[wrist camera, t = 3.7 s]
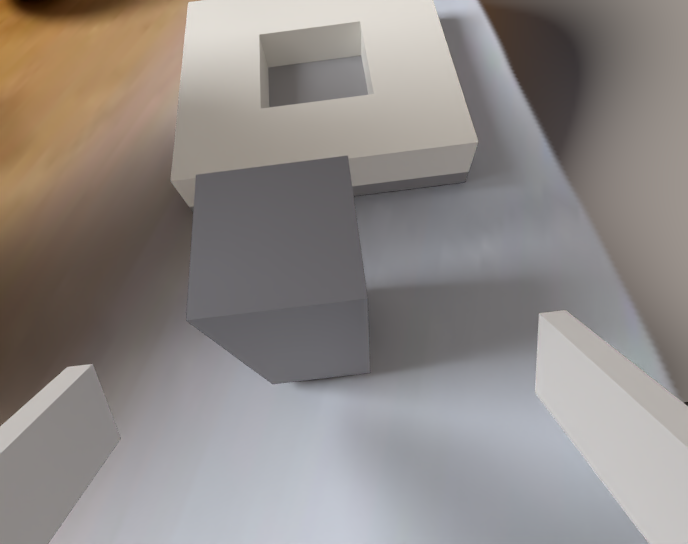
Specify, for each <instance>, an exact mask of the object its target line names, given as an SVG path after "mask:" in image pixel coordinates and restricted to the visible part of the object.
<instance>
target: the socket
mask: <svg viewBox="0 0 688 544" xmlns="http://www.w3.org/2000/svg"><path fill="white" fill-rule="evenodd" d="M477 145H478V139H477V136H476V133H475V129H474V126H473V123H472V120H471V117H470V114H469V111H468V108H467V105H466V101H465V98H464V95H463V92H462V89H461V86H460V83H459V80H458V76H457V73H456V70H455V67H454V64H453V61H452V58H451V55H450V52H449V48H448V45H447V42H446V39H445V36H444V33H443V30H442V27H441V24H440V20H439V17H438V14H437V11H436V8H435V5H434V2H433V0H202V1H195V2H188V10H187V20H186V30H185V40H184V50H183V60H182V70H181V80H180V90H179V100H178V110H177V120H176V130H175V140H174V150H173V160H172V170H171V180H170V181H171V183H172V184H173V185H174V187H175V188H176V190H177V191H178V192H179V194H180V195H181V196H182V198H183V199H184V200H185V202H186V203H187V205H188V206H189V207H190V209H191V210H192V211H193V210H194V195H195V180H196V175H198V174H206V173H214V172H221V171H229V170H237V169H245V168H253V167H261V166H269V165H277V164H285V163H292V162H300V161H308V160H316V159H324V158H332V157H340V156H348V159H349V167H350V174H351V181H352V189H353V196H359V195H367V194H375V193H383V192H391V191H399V190H407V189H415V188H423V187H431V186H439V185H447V184H454V183H462V182H465V181H466V178H467V175H468V172H469V169H470V166H471V163H472V160H473V157H474V154H475V151H476V148H477Z"/></svg>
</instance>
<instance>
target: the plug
mask: <svg viewBox="0 0 688 544" xmlns="http://www.w3.org/2000/svg"><path fill="white" fill-rule="evenodd" d="M186 321H188V322H189V323H190V324H192V325H193V326H194V327H196V328H197V329H198V330H200V331H201V332H202V333H204V334H205V335H207V336H208V337H209V338H211V339H212V340H213V341H215V342H216V343H217V344H219V345H220V346H221V347H223V348H224V349H225V350H227V351H228V352H230V353H231V354H232V355H234V356H235V357H236V358H238V359H239V360H240V361H242V362H243V363H244V364H246V365H247V366H249V367H250V368H251V369H253V370H254V371H255V372H257V373H258V374H259V375H261V376H262V377H263V378H265V379H266V380H267V381H269V382H270V383H272V384H279V383H287V382H296V381H304V380H313V379H321V378H330V377H338V376H347V375H355V374H364V373H370V350H369V322H368V298H367V290H366V283H365V276H364V268H363V261H362V254H361V247H360V239H359V232H358V225H357V218H356V210H355V203H354V196H353V189H352V181H351V174H350V167H349V159H348V156H340V157H332V158H324V159H316V160H308V161H300V162H292V163H285V164H277V165H269V166H261V167H253V168H245V169H237V170H229V171H221V172H214V173H206V174H198V175H196V180H195V195H194V210H193V225H192V239H191V254H190V269H189V284H188V299H187V314H186Z"/></svg>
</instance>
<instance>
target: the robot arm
mask: <svg viewBox="0 0 688 544" xmlns="http://www.w3.org/2000/svg"><path fill="white" fill-rule="evenodd" d="M535 394H536V395H537V396H538V398H539V399H540V400H541V402H542V403H543V404H544V406H545V407H546V408H547V410H548V411H549V412H550V413H551V415H552V416H553V417H554V419H555V420H556V421H557V423H558V424H559V425H560V427H561V428H562V429H563V431H564V432H565V433H566V435H567V436H568V437H569V439H570V440H571V441H572V443H573V444H574V445H575V447H576V448H577V449H578V451H579V452H580V453H581V455H582V456H583V457H584V458H585V460H586V461H587V462H588V464H589V465H590V466H591V468H592V469H593V470H594V472H595V473H596V474H597V476H598V477H599V478H600V480H601V481H602V482H603V484H604V485H605V486H606V488H607V489H608V490H609V492H610V493H611V494H612V496H613V497H614V498H615V500H616V501H617V502H618V503H619V505H620V506H621V507H622V509H623V510H624V511H625V513H626V514H627V515H628V517H629V518H630V519H631V521H632V522H633V523H634V525H635V526H636V527H637V529H638V530H639V531H640V533H641V534H642V535H643V537H644V538H645V539H646V541H647V542H648V543H649V544H688V402H684V403H683V402H682V401H680V400H679V399H678V398H677V397H675V396H674V395H673V394H672V393H670V392H669V391H668V390H667V389H665V388H664V387H663V386H661V385H660V384H659V383H658V382H656V381H655V380H654V379H653V378H651V377H650V376H649V375H647V374H646V373H645V372H644V371H642V370H641V369H640V368H639V367H637V366H636V365H635V364H634V363H632V362H631V361H630V360H628V359H627V358H626V357H625V356H623V355H622V354H621V353H620V352H618V351H617V350H616V349H614V348H613V347H612V346H611V345H609V344H608V343H607V342H606V341H604V340H603V339H602V338H601V337H599V336H598V335H597V334H595V333H594V332H593V331H592V330H590V329H589V328H588V327H587V326H585V325H584V324H583V323H581V322H580V321H579V320H578V319H576V318H575V317H574V316H573V315H571V314H570V313H569V312H567V311H566V310H562V311H553V312H544V313H539V323H538V342H537V362H536V381H535ZM120 439H121V437H120V434H119V432H118V429H117V427H116V424H115V421H114V419H113V416H112V413H111V411H110V408H109V405H108V403H107V400H106V398H105V395H104V392H103V390H102V387H101V384H100V382H99V379H98V376H97V374H96V371H95V369H94V366H93V364H88V365H79V366H71V367H67V368H65V369H64V370H63V371H62V372H61V373H60V374H59V375H58V376H56V377H55V378H54V379H53V380H52V381H51V382H50V383H49V384H47V385H46V386H45V387H44V388H43V389H42V390H41V391H40V392H38V393H37V394H36V395H35V396H34V397H33V398H32V399H31V400H29V401H28V402H27V403H26V404H25V405H24V406H23V407H22V408H20V409H19V410H18V411H17V412H16V413H15V414H14V415H13V416H11V417H10V418H9V419H8V420H7V421H6V422H5V423H4V424H2V425H1V426H0V544H48V543H49V542H50V540H51V539H52V537H53V536H54V535H55V533H56V532H57V530H58V529H59V527H60V526H61V524H62V523H63V522H64V520H65V519H66V517H67V516H68V514H69V513H70V511H71V510H72V508H73V507H74V506H75V504H76V503H77V501H78V500H79V498H80V497H81V495H82V494H83V493H84V491H85V490H86V488H87V487H88V485H89V484H90V482H91V481H92V480H93V478H94V477H95V475H96V474H97V472H98V471H99V469H100V468H101V467H102V465H103V464H104V462H105V461H106V459H107V458H108V456H109V455H110V454H111V452H112V451H113V449H114V448H115V446H116V445H117V443H118V442H119V441H120Z"/></svg>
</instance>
